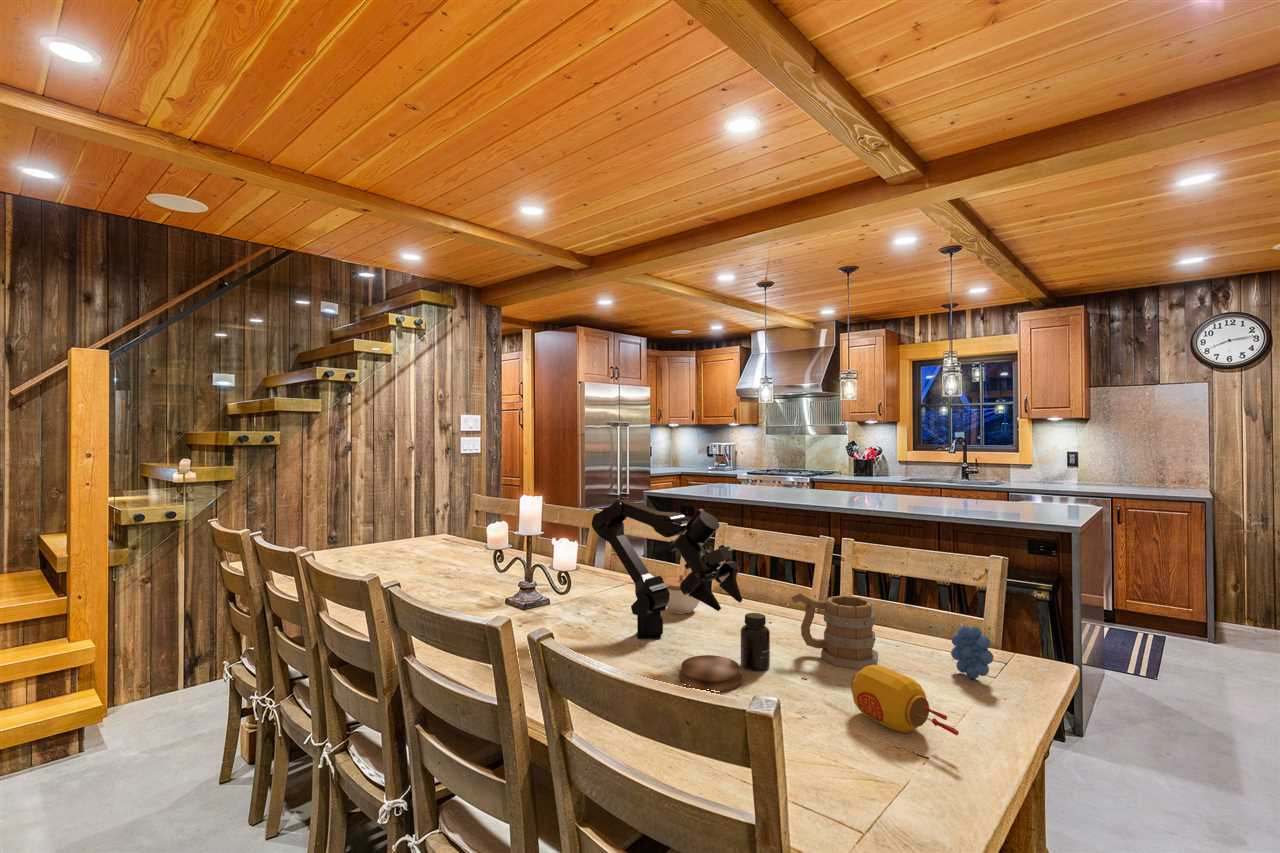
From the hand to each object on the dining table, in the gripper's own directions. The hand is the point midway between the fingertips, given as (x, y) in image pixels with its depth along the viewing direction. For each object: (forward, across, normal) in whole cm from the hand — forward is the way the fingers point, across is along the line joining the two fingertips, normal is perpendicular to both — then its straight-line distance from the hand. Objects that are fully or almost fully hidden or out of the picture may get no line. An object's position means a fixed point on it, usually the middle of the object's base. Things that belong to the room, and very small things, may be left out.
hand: (730, 605), depth 149 cm
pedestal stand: (+12, -13, +7) cm, 19 cm away
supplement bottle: (+14, 0, +5) cm, 15 cm away
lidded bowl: (-15, +24, +34) cm, 44 cm away
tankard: (+22, +18, -3) cm, 29 cm away
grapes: (+43, +26, -24) cm, 56 cm away
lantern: (+38, -7, -19) cm, 43 cm away
